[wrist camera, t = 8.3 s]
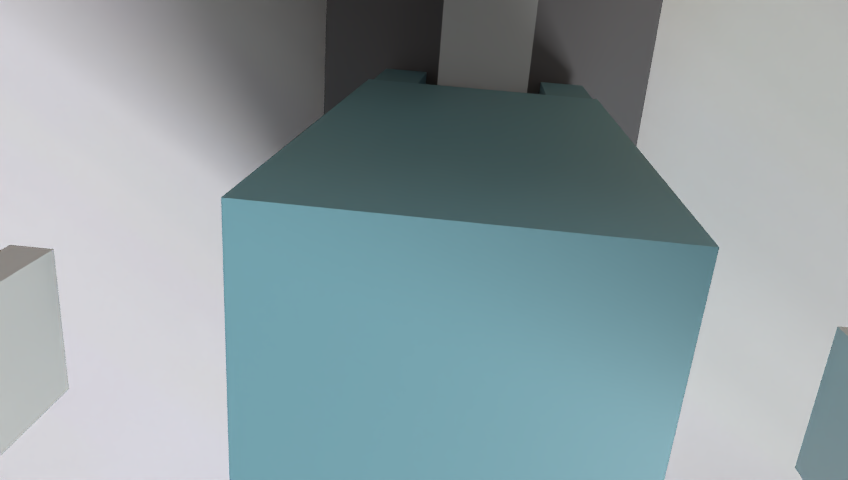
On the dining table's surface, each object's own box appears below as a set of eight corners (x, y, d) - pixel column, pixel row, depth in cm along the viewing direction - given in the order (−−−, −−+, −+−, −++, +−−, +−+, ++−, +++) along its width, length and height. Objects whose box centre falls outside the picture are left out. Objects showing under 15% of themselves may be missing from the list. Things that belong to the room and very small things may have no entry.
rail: (318, 607, 26) (297, 684, 23) (336, -45, 18) (307, -49, 15) (540, 637, 25) (545, 720, 22) (657, -20, 17) (688, -19, 15)
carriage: (369, 321, 20) (236, 683, 10) (382, 68, 18) (221, 198, 7) (547, 340, 20) (603, 736, 9) (586, 86, 17) (719, 247, 7)
